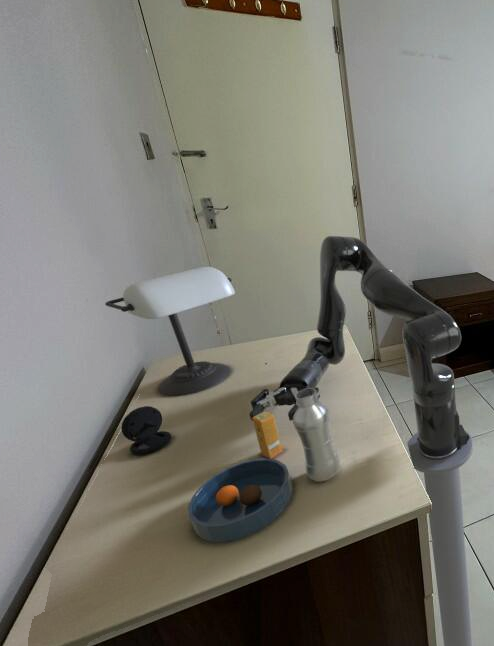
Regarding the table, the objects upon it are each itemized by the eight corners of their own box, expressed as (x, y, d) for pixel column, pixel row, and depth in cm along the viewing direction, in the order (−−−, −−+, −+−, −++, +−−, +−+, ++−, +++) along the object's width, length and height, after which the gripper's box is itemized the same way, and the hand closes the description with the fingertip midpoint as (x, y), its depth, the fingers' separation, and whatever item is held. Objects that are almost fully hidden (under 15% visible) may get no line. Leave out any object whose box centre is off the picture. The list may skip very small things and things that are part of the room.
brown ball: (258, 482, 78) (236, 489, 76) (261, 481, 76) (239, 489, 73) (261, 500, 78) (240, 508, 75) (264, 500, 75) (242, 508, 73)
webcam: (157, 432, 97) (142, 397, 93) (180, 436, 95) (166, 401, 91) (122, 453, 90) (104, 417, 86) (146, 459, 88) (129, 422, 84)
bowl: (295, 464, 86) (291, 450, 84) (288, 524, 72) (283, 508, 70) (208, 486, 81) (202, 471, 79) (182, 555, 67) (174, 539, 65)
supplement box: (284, 450, 90) (274, 414, 86) (270, 460, 87) (259, 422, 83) (275, 445, 92) (264, 409, 88) (261, 455, 89) (249, 418, 85)
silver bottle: (348, 465, 85) (331, 386, 77) (327, 489, 79) (306, 406, 72) (323, 459, 87) (305, 381, 79) (301, 482, 81) (278, 400, 73)
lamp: (177, 416, 103) (127, 293, 90) (128, 394, 113) (76, 280, 99) (269, 369, 125) (240, 264, 111) (221, 354, 135) (189, 256, 121)
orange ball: (225, 501, 77) (232, 482, 78) (239, 506, 76) (245, 487, 77) (208, 504, 74) (215, 484, 75) (222, 509, 73) (229, 489, 74)
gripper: (271, 367, 103) (235, 404, 88) (327, 366, 103) (299, 403, 88) (278, 392, 105) (244, 432, 91) (332, 391, 106) (306, 430, 91)
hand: (271, 417), depth 89 cm, fingers open, 8 cm apart
